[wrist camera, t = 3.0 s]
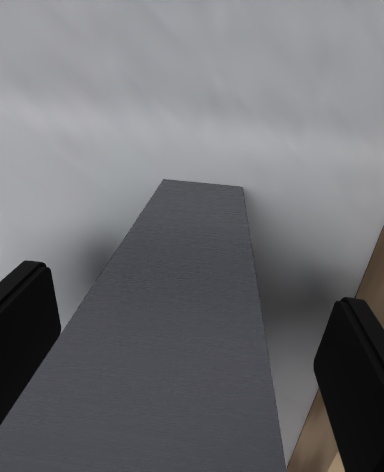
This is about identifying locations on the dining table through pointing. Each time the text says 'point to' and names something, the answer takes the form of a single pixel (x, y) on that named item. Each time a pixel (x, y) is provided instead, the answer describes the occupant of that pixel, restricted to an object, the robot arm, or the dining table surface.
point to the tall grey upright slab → (159, 354)
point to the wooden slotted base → (317, 424)
